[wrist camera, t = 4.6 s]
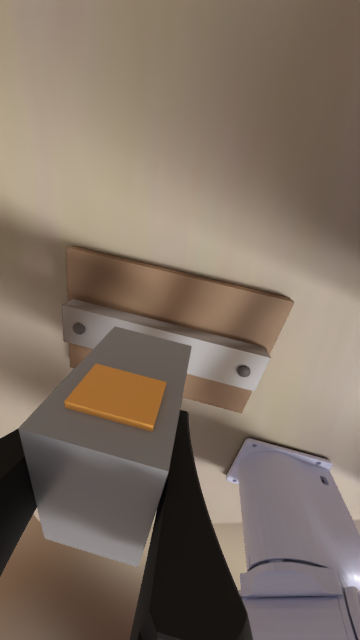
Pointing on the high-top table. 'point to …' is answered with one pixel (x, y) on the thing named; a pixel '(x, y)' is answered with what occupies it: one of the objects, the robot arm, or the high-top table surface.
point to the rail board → (175, 320)
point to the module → (107, 444)
